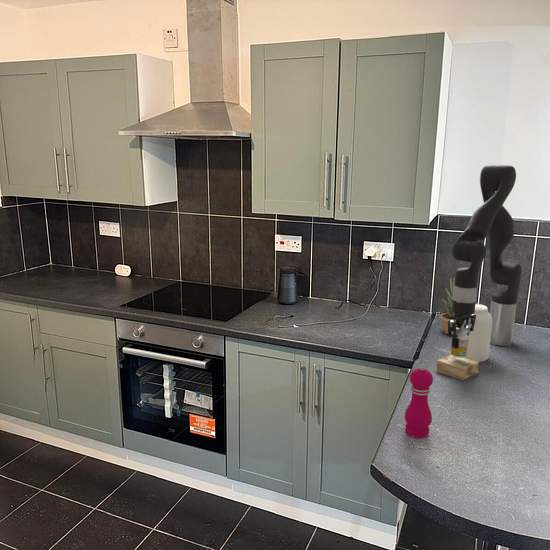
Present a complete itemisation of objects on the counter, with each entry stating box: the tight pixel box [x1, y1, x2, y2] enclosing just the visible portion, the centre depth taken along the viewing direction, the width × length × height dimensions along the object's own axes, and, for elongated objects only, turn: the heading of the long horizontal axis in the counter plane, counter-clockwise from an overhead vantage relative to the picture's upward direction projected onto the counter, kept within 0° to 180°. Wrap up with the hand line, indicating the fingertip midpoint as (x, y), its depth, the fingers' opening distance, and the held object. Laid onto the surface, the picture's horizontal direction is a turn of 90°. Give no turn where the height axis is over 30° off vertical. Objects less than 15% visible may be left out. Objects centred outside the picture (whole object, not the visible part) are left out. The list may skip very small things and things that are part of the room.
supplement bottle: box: [450, 327, 469, 358], centre depth 179 cm, size 5×5×10 cm
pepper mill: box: [404, 363, 434, 439], centre depth 140 cm, size 7×7×20 cm
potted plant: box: [440, 277, 455, 335], centre depth 220 cm, size 10×10×25 cm
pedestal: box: [436, 354, 480, 381], centre depth 181 cm, size 10×10×4 cm
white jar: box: [465, 303, 492, 363], centre depth 194 cm, size 12×12×20 cm
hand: (459, 345), depth 180 cm, fingers closed on supplement bottle, 5 cm apart
